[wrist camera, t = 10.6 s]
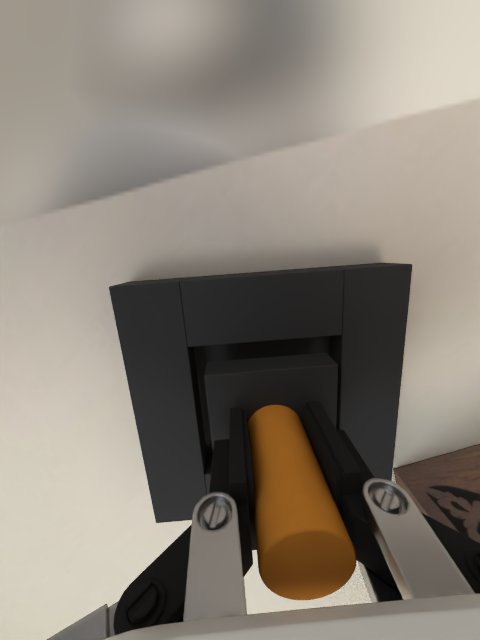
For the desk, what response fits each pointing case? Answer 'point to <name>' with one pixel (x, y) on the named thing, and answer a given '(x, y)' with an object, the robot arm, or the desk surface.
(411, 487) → the tissue box cover
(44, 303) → the desk surface
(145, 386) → the base pad
